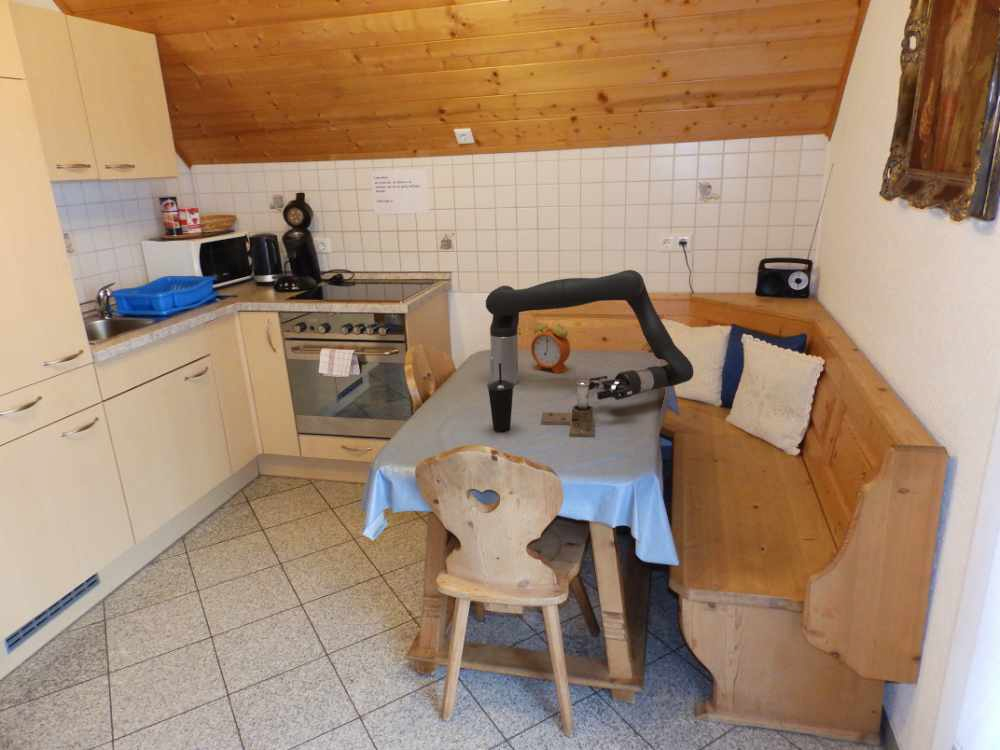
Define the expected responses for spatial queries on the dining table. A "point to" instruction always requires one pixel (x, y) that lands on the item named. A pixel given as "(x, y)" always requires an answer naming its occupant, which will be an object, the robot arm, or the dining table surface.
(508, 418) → the drinking cup
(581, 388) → the hinge pin
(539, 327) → the alarm clock
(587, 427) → the hinge base
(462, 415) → the dining table surface
